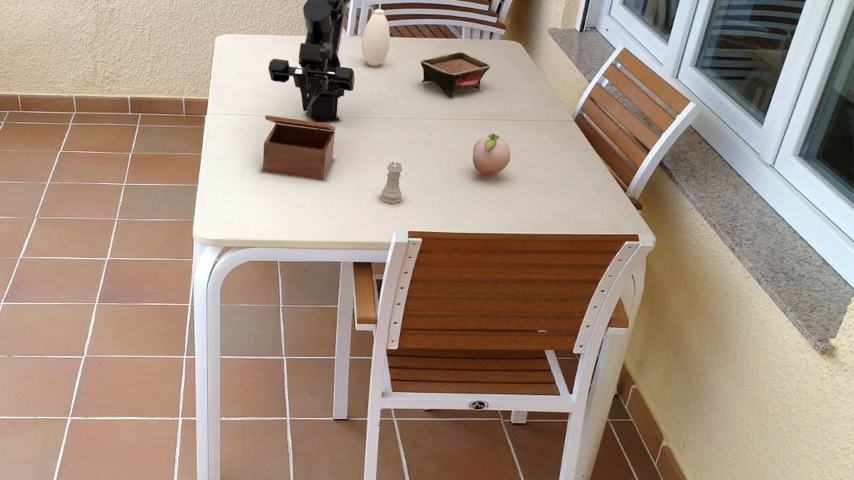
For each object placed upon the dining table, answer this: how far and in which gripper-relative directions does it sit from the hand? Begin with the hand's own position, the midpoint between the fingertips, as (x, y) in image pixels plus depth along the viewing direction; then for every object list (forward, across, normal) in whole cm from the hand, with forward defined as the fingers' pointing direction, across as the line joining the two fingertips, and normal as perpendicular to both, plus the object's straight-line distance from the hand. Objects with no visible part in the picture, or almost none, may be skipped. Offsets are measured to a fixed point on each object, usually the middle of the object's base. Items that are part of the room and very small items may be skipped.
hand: (304, 110), depth 212 cm
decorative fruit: (+5, +42, +12) cm, 44 cm away
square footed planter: (-35, +30, +52) cm, 70 cm away
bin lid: (+4, 0, -1) cm, 4 cm away
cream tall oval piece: (-43, +7, +60) cm, 74 cm away
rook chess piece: (+18, +22, -2) cm, 29 cm away
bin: (+11, 0, +5) cm, 12 cm away
